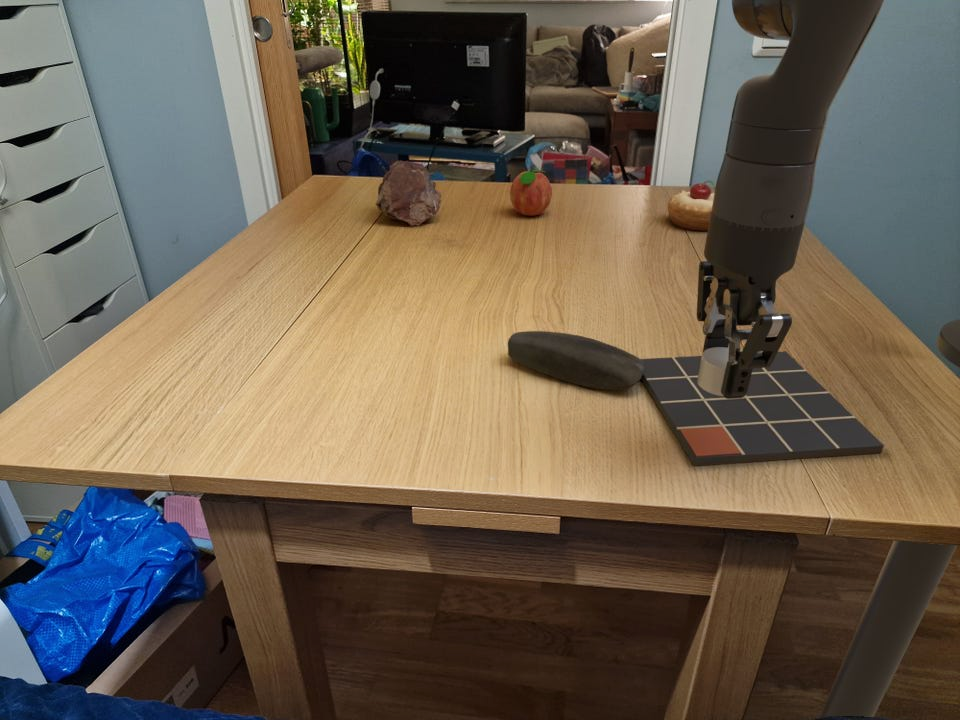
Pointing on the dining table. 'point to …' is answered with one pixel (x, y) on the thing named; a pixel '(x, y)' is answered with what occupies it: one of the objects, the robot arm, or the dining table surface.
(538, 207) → the fruit
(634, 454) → the dining table surface
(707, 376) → the white short cylinder
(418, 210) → the mineral specimen
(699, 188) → the pastry
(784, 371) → the board
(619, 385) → the dark glasses case
